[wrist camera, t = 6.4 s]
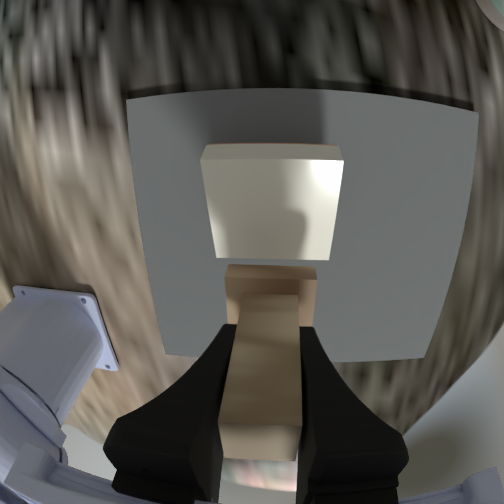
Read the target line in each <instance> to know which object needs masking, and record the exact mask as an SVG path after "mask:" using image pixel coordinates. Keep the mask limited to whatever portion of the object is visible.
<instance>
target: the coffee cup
mask: <svg viewBox="0 0 504 504" xmlns="http://www.w3.org/2000/svg"><path fill="white" fill-rule="evenodd" d="M475 1H476V2H477V4H478V6H479V7H480V9H481V10H482V11H483V13H484V14H485V15H486V16H487V17H488V19H489V20H490V21H491V22H492V23H493V24H495V25H496V26H497V27H498V28H500V29H501V30H503V31H504V0H475Z"/></svg>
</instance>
